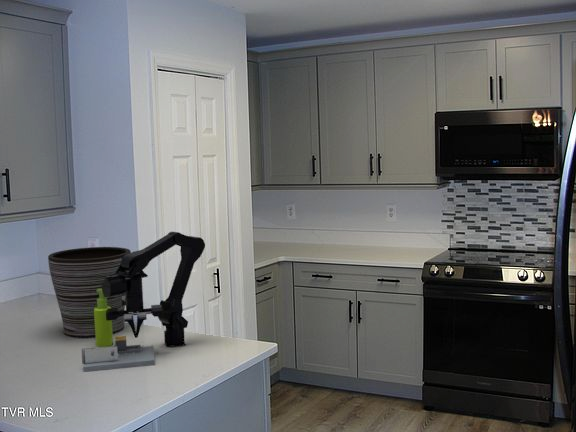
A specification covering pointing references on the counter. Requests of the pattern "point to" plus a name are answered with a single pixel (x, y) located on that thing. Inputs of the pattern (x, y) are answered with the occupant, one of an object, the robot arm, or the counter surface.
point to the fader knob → (121, 343)
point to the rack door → (101, 354)
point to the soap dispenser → (102, 322)
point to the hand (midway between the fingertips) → (136, 337)
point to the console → (123, 359)
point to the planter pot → (84, 286)
